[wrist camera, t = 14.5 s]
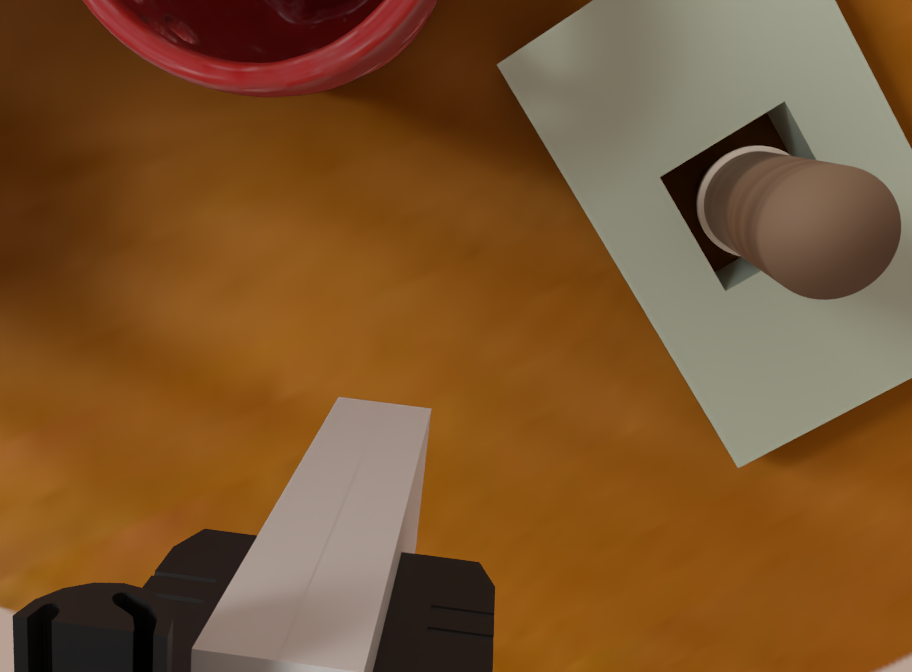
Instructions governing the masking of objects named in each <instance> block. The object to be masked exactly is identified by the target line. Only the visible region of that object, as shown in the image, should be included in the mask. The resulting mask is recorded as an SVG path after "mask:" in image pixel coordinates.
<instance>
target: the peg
mask: <svg viewBox="0 0 912 672" xmlns="http://www.w3.org/2000/svg"><path fill="white" fill-rule="evenodd" d="M696 201H697V202H696V206H697V215H698V219H699V222H700V225H701V227H702V229H703V231H704V232H705V234H706V235H707V236H708V238H709V239H710V240H711V241H712V242H713V243H715V244H716V245H717V246H718V247H720V248H721V249H723V250H725V251H726V252H729V253H731V254H734V255H737V256H741V257H743V258H744V259H746V260H747V261H748V262H750V263H751V264H753V265H754V266H755V267H757V268H758V269H760V270H761V271H762V272H764V273H765V274H767V275H768V276H770V277H771V278H772V279H774V280H775V281H777V282H778V283H779V284H781V285H782V286H784V287H785V288H787V289H788V290H790V291H792V292H793V293H796V294H798V295H800V296H803V297H807V298H811V299H817V300H830V299H838V298H842V297H846V296H849V295H852V294H854V293H856V292H859V291H861V290H862V289H864V288H866V287H867V286H869V285H870V284H871V283H873V282H874V281H875V280H876V279H877V278H878V277H879V276H880V275H881V274H882V273H883V272H884V271H885V270H886V268H887V267H888V266H889V264H890V263H891V261H892V259H893V257H894V255H895V253H896V251H897V248H898V245H899V241H900V235H901V217H900V211H899V208H898V205H897V202H896V200H895V198H894V196H893V194H892V193H891V191H890V190H889V189H888V187H887V186H886V185H885V184H884V183H883V182H882V181H881V180H880V179H878V178H877V177H876V176H874V175H872V174H871V173H869V172H867V171H865V170H863V169H860V168H856V167H853V166H847V165H841V164H836V163H830V162H824V161H818V160H812V159H807V158H801V157H795V156H791V155H790V154H788V153H786V152H784V151H782V150H780V149H777V148H773V147H768V146H758V145H754V146H746V147H742V148H738V149H736V150H733V151H731V152H729V153H727V154H725V155H724V156H722V157H721V158H720V159H718V160H717V161H716V162H715V163H713V164H712V165H711V166H710V167H708V168H707V170H706V171H705V172H704V173H703V175H702V176H701V178H700V180H699V182H698V185H697V190H696Z"/></svg>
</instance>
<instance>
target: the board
mask: <svg viewBox="0 0 912 672" xmlns="http://www.w3.org/2000/svg"><path fill="white" fill-rule="evenodd" d="M497 66H498V68H499V70H500V71H501V73H502V75H503V76H504V78H505V80H506V81H507V83H508V85H509V86H510V88H511V90H512V91H513V93H514V95H515V96H516V98H517V100H518V101H519V103H520V105H521V106H522V108H523V110H524V111H525V113H526V115H527V116H528V118H529V120H530V121H531V123H532V125H533V126H534V128H535V130H536V131H537V133H538V135H539V136H540V138H541V140H542V141H543V143H544V145H545V146H546V148H547V150H548V151H549V153H550V155H551V156H552V158H553V160H554V161H555V163H556V165H557V167H558V168H559V170H560V172H561V173H562V175H563V177H564V178H565V180H566V182H567V183H568V185H569V187H570V188H571V190H572V192H573V193H574V195H575V197H576V198H577V200H578V202H579V203H580V205H581V207H582V208H583V210H584V212H585V213H586V215H587V217H588V218H589V220H590V222H591V223H592V225H593V227H594V228H595V230H596V232H597V233H598V235H599V237H600V238H601V240H602V242H603V243H604V245H605V247H606V248H607V250H608V252H609V253H610V255H611V257H612V258H613V260H614V262H615V263H616V265H617V267H618V268H619V270H620V272H621V273H622V275H623V277H624V278H625V280H626V282H627V283H628V285H629V287H630V288H631V290H632V292H633V293H634V295H635V297H636V298H637V300H638V302H639V304H640V305H641V307H642V309H643V310H644V312H645V314H646V315H647V317H648V319H649V320H650V322H651V324H652V325H653V327H654V329H655V330H656V332H657V334H658V335H659V337H660V339H661V340H662V342H663V344H664V345H665V347H666V349H667V350H668V352H669V354H670V355H671V357H672V359H673V360H674V362H675V364H676V365H677V367H678V369H679V370H680V372H681V374H682V375H683V377H684V379H685V380H686V382H687V384H688V385H689V387H690V389H691V390H692V392H693V394H694V395H695V397H696V399H697V400H698V402H699V404H700V405H701V407H702V409H703V410H704V412H705V414H706V415H707V417H708V419H709V420H710V422H711V424H712V425H713V427H714V429H715V430H716V432H717V434H718V436H719V437H720V439H721V441H722V442H723V444H724V446H725V447H726V449H727V451H728V452H729V454H730V456H731V457H732V459H733V461H734V462H735V464H736V466H737V467H738V468H740V467H742V466H744V465H745V464H747V463H749V462H751V461H753V460H755V459H757V458H759V457H761V456H763V455H765V454H767V453H769V452H770V451H772V450H774V449H776V448H778V447H780V446H782V445H784V444H786V443H788V442H790V441H792V440H793V439H795V438H797V437H799V436H801V435H803V434H805V433H807V432H809V431H811V430H813V429H815V428H817V427H818V426H820V425H822V424H824V423H826V422H828V421H830V420H832V419H834V418H836V417H838V416H840V415H842V414H843V413H845V412H847V411H849V410H851V409H853V408H855V407H857V406H859V405H861V404H863V403H865V402H866V401H868V400H870V399H872V398H874V397H876V396H878V395H880V394H882V393H884V392H886V391H888V390H890V389H891V388H893V387H895V386H897V385H899V384H901V383H903V382H905V381H907V380H909V379H911V378H912V149H911V147H910V145H909V143H908V141H907V139H906V137H905V135H904V133H903V131H902V129H901V127H900V125H899V124H898V122H897V120H896V118H895V116H894V114H893V112H892V110H891V108H890V106H889V104H888V102H887V100H886V98H885V96H884V94H883V92H882V91H881V89H880V87H879V85H878V83H877V81H876V79H875V77H874V75H873V73H872V71H871V69H870V67H869V65H868V63H867V61H866V59H865V57H864V56H863V54H862V52H861V50H860V48H859V46H858V44H857V42H856V40H855V38H854V36H853V34H852V32H851V30H850V28H849V26H848V24H847V23H846V21H845V19H844V17H843V15H842V13H841V11H840V9H839V7H838V5H837V3H836V1H835V0H593V1H591V2H590V3H588V4H587V5H585V6H584V7H582V8H581V9H579V10H578V11H576V12H575V13H573V14H572V15H570V16H569V17H567V18H566V19H564V20H563V21H561V22H560V23H558V24H557V25H555V26H554V27H552V28H551V29H549V30H548V31H546V32H545V33H543V34H542V35H540V36H539V37H537V38H536V39H534V40H533V41H531V42H530V43H528V44H527V45H525V46H524V47H522V48H521V49H519V50H518V51H516V52H515V53H513V54H512V55H510V56H509V57H507V58H506V59H504V60H503V61H501V62H500V63H498V64H497ZM766 112H767V114H768V116H769V118H770V120H771V122H772V123H773V125H774V127H775V129H776V131H777V133H778V135H779V136H780V138H781V140H782V142H783V144H784V146H785V147H786V149H787V151H788V153H789V154H790V155H791V156H795V157H801V158H807V159H812V160H818V161H824V162H830V163H836V164H841V165H847V166H853V167H856V168H860V169H863V170H865V171H867V172H869V173H871V174H872V175H874V176H876V177H877V178H878V179H880V180H881V181H882V182H883V183H884V184H885V185H886V186H887V187H888V189H889V190H890V191H891V193H892V194H893V196H894V198H895V200H896V202H897V205H898V208H899V211H900V217H901V235H900V241H899V245H898V248H897V251H896V253H895V255H894V257H893V259H892V261H891V263H890V264H889V266H888V267H887V268H886V270H885V271H884V272H883V273H882V274H881V275H880V276H879V277H878V278H877V279H876V280H875V281H874V282H873V283H871V284H870V285H869V286H867V287H866V288H864V289H862V290H861V291H859V292H856V293H854V294H852V295H849V296H846V297H842V298H838V299H830V300H817V299H811V298H807V297H803V296H800V295H798V294H796V293H793V292H792V291H790V290H788V289H787V288H785V287H784V286H782V285H781V284H779V283H778V282H777V281H775V280H774V279H772V278H771V277H770V276H768V275H767V274H765V273H764V272H762V271H761V270H760V269H758V268H757V267H755V266H754V265H753V264H751V263H750V262H748V261H747V260H746V259H744V258H743V257H740V258H738V259H737V260H735V261H733V262H731V263H730V264H728V265H726V266H724V267H723V268H721V269H719V270H717V271H716V272H714V271H713V269H712V267H711V265H710V264H709V262H708V260H707V258H706V257H705V255H704V253H703V252H702V250H701V248H700V246H699V245H698V243H697V241H696V239H695V238H694V236H693V234H692V232H691V231H690V229H689V227H688V225H687V224H686V222H685V220H684V219H683V217H682V215H681V213H680V212H679V210H678V208H677V206H676V205H675V203H674V201H673V199H672V198H671V196H670V194H669V193H668V191H667V189H666V187H665V186H664V184H663V182H662V180H661V179H660V177H661V176H663V175H664V174H666V173H668V172H669V171H671V170H672V169H674V168H676V167H677V166H679V165H681V164H682V163H684V162H686V161H687V160H689V159H691V158H692V157H694V156H695V155H697V154H699V153H700V152H702V151H704V150H705V149H707V148H709V147H710V146H712V145H714V144H715V143H717V142H719V141H720V140H722V139H723V138H725V137H727V136H728V135H730V134H732V133H733V132H735V131H737V130H738V129H740V128H742V127H743V126H745V125H746V124H748V123H750V122H751V121H753V120H755V119H756V118H758V117H760V116H761V115H763V114H765V113H766Z"/></svg>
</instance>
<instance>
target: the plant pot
mask: <svg viewBox="0 0 912 672" xmlns="http://www.w3.org/2000/svg"><path fill="white" fill-rule="evenodd" d="M437 1H438V0H83V2H84V3H85V4H86V6H87V7H88V8H89V10H90V11H91V12H92V14H93V15H94V16H95V17H96V18H97V19H98V20H99V21H100V22H101V23H102V25H103V26H104V27H105V28H106V29H107V30H108V31H109V32H110V33H111V34H112V35H114V36H115V37H116V38H117V39H118V40H119V41H120V42H121V43H122V44H124V45H125V46H126V47H128V48H129V49H131V50H132V51H133V52H135V53H136V54H137V55H139V56H140V57H142V58H143V59H145V60H146V61H148V62H150V63H151V64H153V65H155V66H157V67H158V68H160V69H162V70H164V71H166V72H168V73H169V74H172V75H174V76H176V77H179V78H181V79H183V80H186V81H188V82H190V83H194V84H197V85H200V86H203V87H207V88H210V89H214V90H218V91H223V92H228V93H233V94H239V95H246V96H255V97H281V96H295V95H305V94H312V93H317V92H322V91H326V90H329V89H333V88H336V87H339V86H342V85H344V84H347V83H349V82H351V81H354V80H356V79H358V78H360V77H363V76H365V75H367V74H370V73H372V72H374V71H376V70H377V69H379V68H381V67H383V66H384V65H386V64H387V63H389V62H390V61H391V60H393V59H394V58H395V57H397V56H398V55H399V54H400V53H401V52H402V51H403V50H404V49H405V48H406V47H407V46H408V45H409V44H410V43H411V42H412V41H413V40H414V39H415V38H416V36H417V35H418V34H419V32H420V31H421V29H422V28H423V27H424V25H425V24H426V22H427V21H428V19H429V17H430V15H431V13H432V11H433V9H434V7H435V5H436V3H437Z"/></svg>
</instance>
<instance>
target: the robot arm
mask: <svg viewBox="0 0 912 672" xmlns="http://www.w3.org/2000/svg"><path fill="white" fill-rule="evenodd" d="M430 416H431V409H430V408H422V407H414V406H406V405H399V404H391V403H383V402H375V401H367V400H359V399H352V398H344V397H338V399H337V401H336V402H335V404H334V406H333V407H332V409H331V411H330V413H329V414H328V416H327V418H326V419H325V421H324V423H323V425H322V426H321V428H320V430H319V431H318V433H317V435H316V437H315V438H314V440H313V442H312V443H311V445H310V447H309V449H308V450H307V452H306V454H305V455H304V457H303V459H302V461H301V462H300V464H299V466H298V467H297V469H296V471H295V473H294V474H293V476H292V478H291V479H290V481H289V483H288V485H287V486H286V488H285V490H284V491H283V493H282V495H281V497H280V498H279V500H278V502H277V503H276V505H275V507H274V509H273V510H272V512H271V514H270V515H269V517H268V519H267V521H266V522H265V524H264V526H263V527H262V529H261V531H260V532H259V534H258V536H255V535H248V534H240V533H232V532H225V531H217V530H210V529H204V530H202V531H200V532H198V533H197V534H195V535H193V536H191V537H190V538H188V539H186V540H185V541H183V542H181V543H179V544H178V545H176V546H174V547H173V548H172V549H171V551H170V552H169V553H168V555H167V556H166V557H165V559H164V560H163V561H162V563H161V564H160V565H159V567H158V568H157V569H156V570H155V575H154V576H151V577H150V578H149V580H148V581H147V582H146V584H145V585H144V586H143V588H140V587H136V586H132V585H128V584H125V583H90V584H85V585H79V586H73V587H68V588H63V589H60V590H58V591H55V592H53V593H50V594H48V595H45V596H43V597H40V598H38V599H35V600H34V601H32V602H31V603H29V604H28V605H27V606H25V607H24V608H23V609H21V610H20V611H19V612H17V613H16V614H14V615H13V638H14V672H492V669H493V636H494V603H495V586H494V585H493V583H492V581H491V580H490V578H489V577H488V575H487V574H486V572H485V570H484V569H483V567H482V566H481V564H480V563H479V562H473V561H465V560H458V559H450V558H443V557H435V556H428V555H420V554H415V550H416V541H417V532H418V523H419V514H420V505H421V496H422V487H423V478H424V469H425V461H426V452H427V443H428V434H429V425H430Z"/></svg>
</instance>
